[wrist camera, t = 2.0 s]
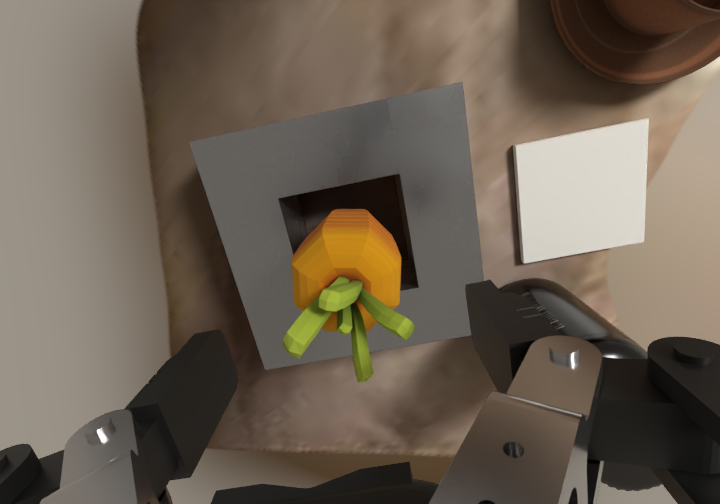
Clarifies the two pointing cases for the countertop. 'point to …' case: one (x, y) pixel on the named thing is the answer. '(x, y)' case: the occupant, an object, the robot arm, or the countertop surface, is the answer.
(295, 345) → the carrot
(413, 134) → the metal housing
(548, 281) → the supplement bottle
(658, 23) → the cup and saucer
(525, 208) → the plastic pad
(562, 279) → the countertop surface
